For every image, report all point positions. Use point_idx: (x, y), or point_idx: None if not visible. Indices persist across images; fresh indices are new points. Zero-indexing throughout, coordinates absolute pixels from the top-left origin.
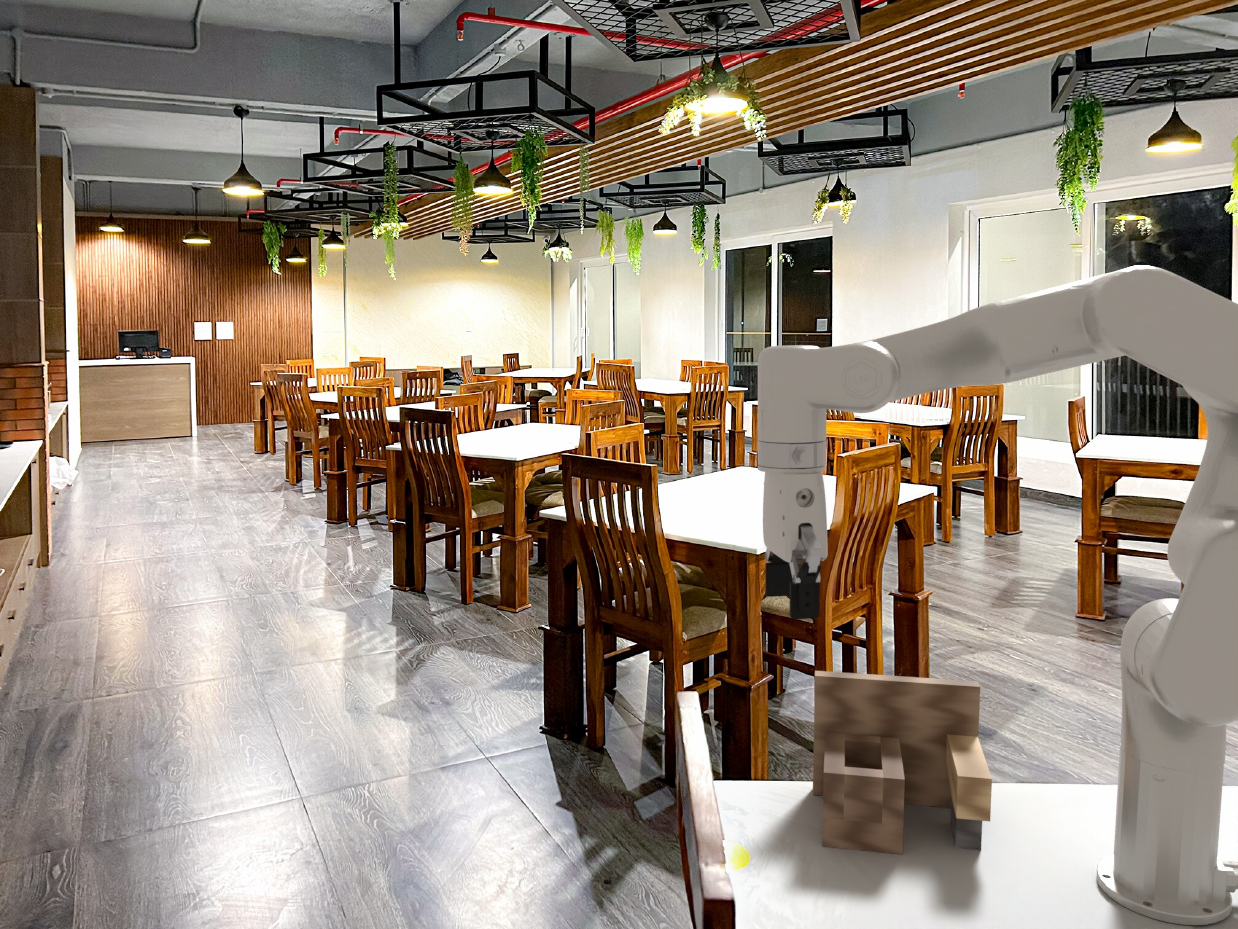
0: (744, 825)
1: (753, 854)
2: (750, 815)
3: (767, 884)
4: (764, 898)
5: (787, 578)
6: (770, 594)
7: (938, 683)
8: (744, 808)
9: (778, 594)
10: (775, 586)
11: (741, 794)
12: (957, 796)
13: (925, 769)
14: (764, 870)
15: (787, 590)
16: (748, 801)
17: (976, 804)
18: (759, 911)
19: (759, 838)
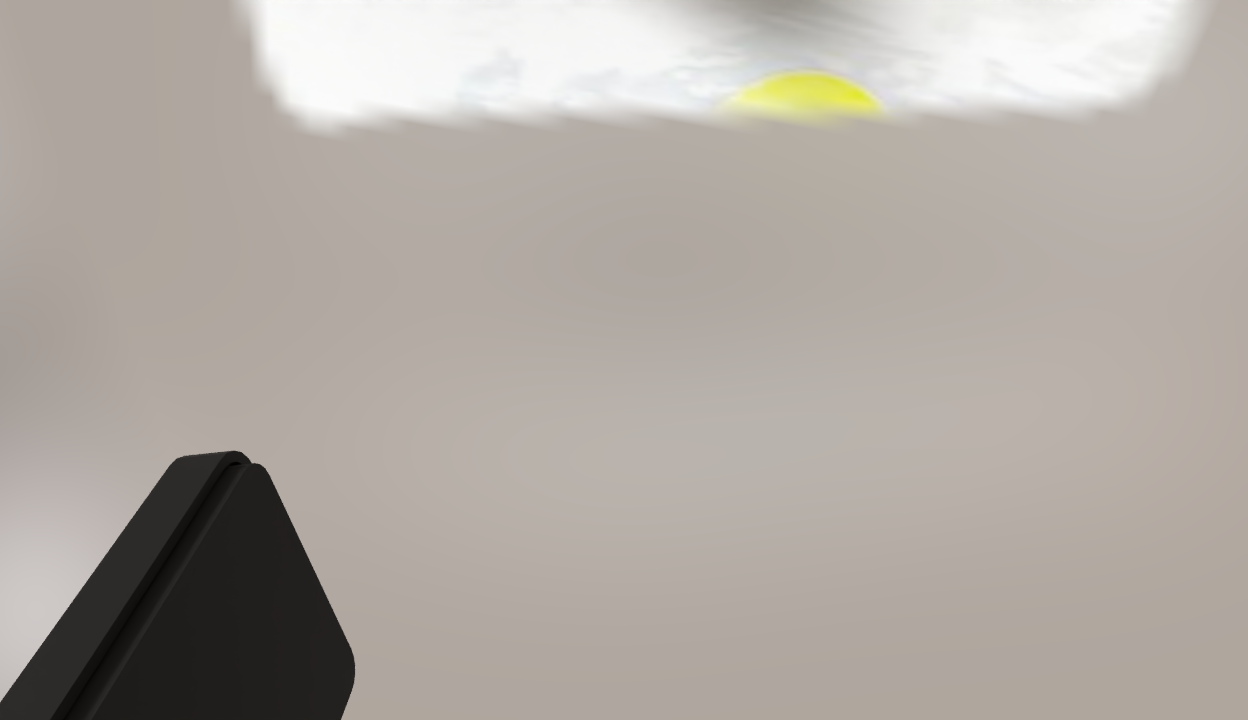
0: (598, 73)
1: (795, 60)
2: (523, 46)
3: (988, 32)
4: (1069, 50)
5: (189, 668)
6: (344, 663)
7: None
8: (472, 63)
9: (315, 593)
10: (288, 697)
11: (365, 64)
12: None
13: None
14: (900, 33)
15: (256, 541)
16: (416, 43)
17: None
18: (1139, 73)
19: (687, 29)
